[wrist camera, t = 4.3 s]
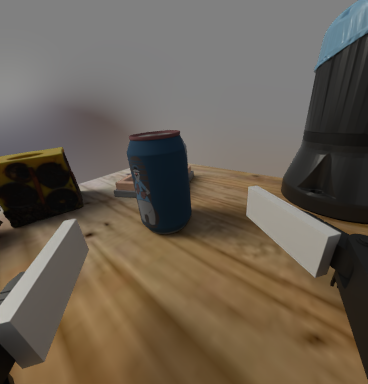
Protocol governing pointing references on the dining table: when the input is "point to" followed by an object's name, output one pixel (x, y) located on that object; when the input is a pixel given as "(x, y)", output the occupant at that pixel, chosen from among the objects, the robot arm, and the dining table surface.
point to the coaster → (127, 187)
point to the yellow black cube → (37, 186)
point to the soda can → (160, 179)
